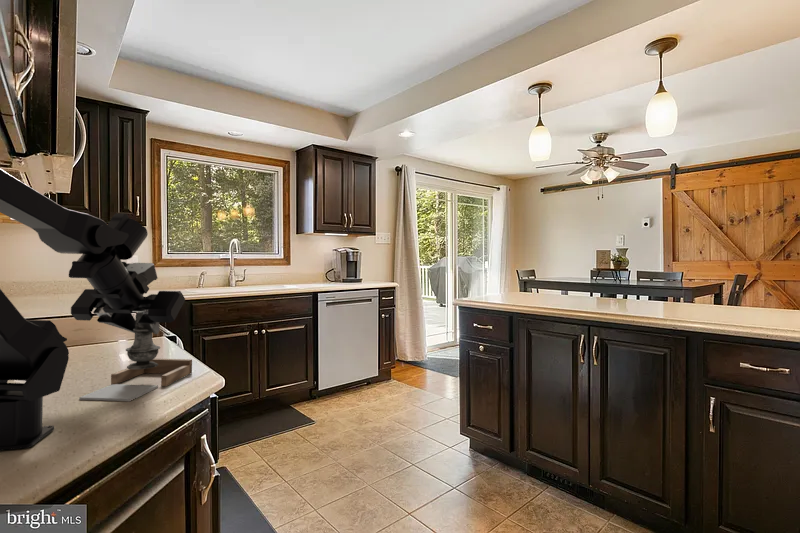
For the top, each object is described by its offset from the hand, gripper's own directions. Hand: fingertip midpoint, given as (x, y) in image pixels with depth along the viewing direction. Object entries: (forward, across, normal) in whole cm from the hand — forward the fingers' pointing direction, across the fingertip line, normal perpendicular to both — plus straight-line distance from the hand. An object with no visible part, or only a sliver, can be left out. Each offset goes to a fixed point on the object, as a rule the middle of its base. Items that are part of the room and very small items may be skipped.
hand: (148, 331), depth 84 cm
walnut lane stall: (+9, 0, +5) cm, 10 cm away
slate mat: (+2, 0, +12) cm, 13 cm away
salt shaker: (+4, 0, +6) cm, 7 cm away
